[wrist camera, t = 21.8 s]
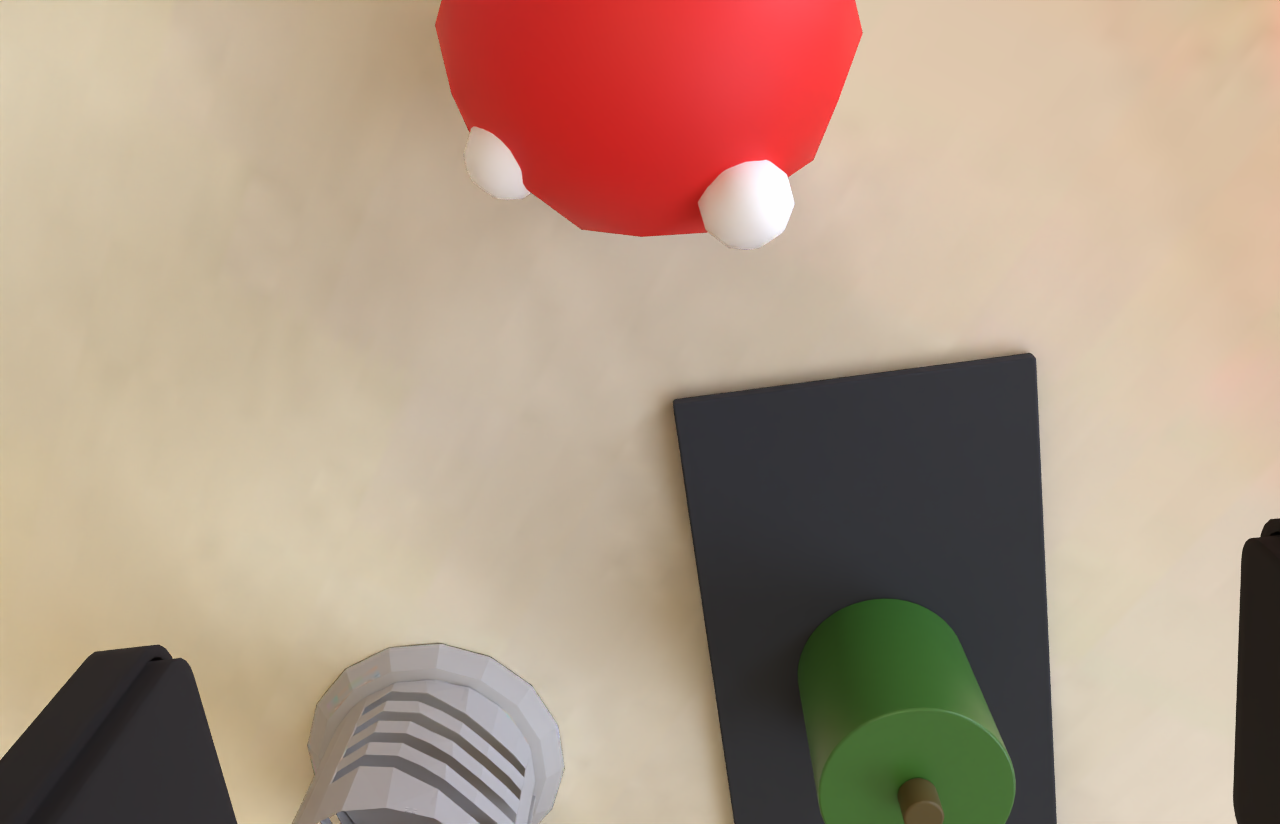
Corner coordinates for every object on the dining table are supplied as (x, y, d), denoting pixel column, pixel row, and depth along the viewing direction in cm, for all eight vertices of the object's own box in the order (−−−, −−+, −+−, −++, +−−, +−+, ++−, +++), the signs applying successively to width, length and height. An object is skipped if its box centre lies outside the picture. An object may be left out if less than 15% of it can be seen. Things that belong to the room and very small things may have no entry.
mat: (743, 878, 47) (744, 889, 47) (672, 399, 41) (672, 404, 40) (1054, 847, 46) (1058, 858, 46) (1031, 352, 40) (1036, 357, 39)
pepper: (806, 751, 45) (832, 910, 37) (788, 608, 43) (812, 743, 35) (970, 733, 44) (1031, 891, 36) (960, 588, 42) (1022, 721, 35)
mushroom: (686, 270, 39) (687, 380, 28) (407, 59, 38) (288, 87, 26) (901, -6, 37) (1001, -7, 25) (611, -250, 35) (577, -369, 23)
